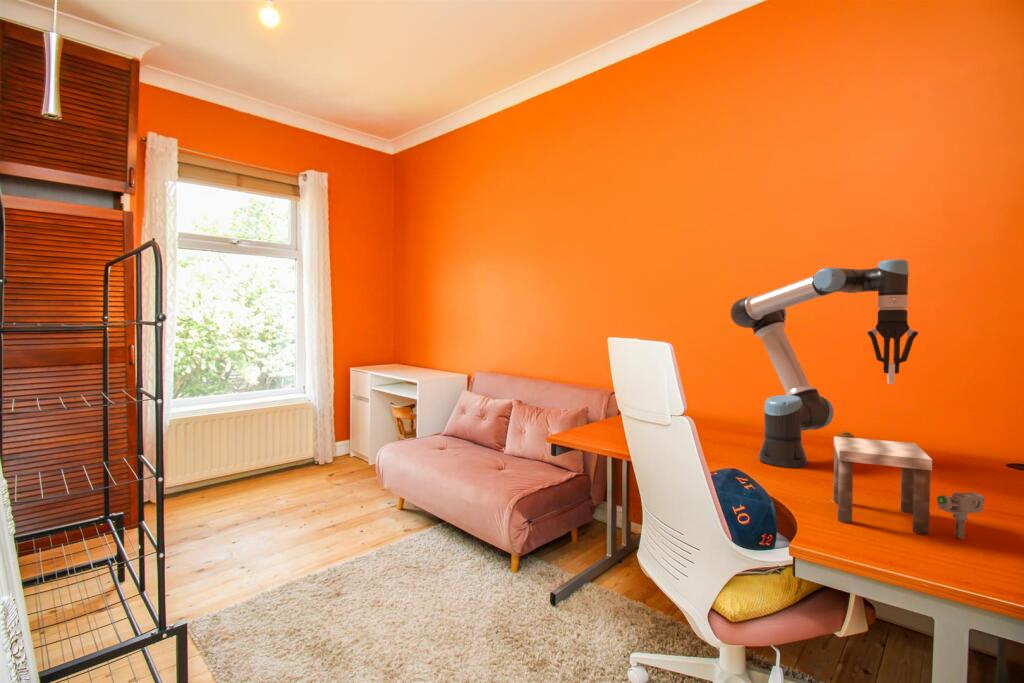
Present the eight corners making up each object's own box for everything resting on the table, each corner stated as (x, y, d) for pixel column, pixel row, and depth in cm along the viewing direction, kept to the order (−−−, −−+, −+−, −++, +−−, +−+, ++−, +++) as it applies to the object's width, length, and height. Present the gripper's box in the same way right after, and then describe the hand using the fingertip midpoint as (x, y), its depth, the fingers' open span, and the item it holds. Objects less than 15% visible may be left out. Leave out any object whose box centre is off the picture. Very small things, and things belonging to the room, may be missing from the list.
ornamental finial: (836, 449, 197) (859, 452, 192) (832, 452, 192) (855, 456, 187) (836, 429, 197) (859, 431, 192) (832, 432, 192) (855, 435, 186)
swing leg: (877, 504, 136) (878, 451, 135) (879, 508, 133) (880, 453, 133) (832, 498, 141) (833, 447, 140) (833, 501, 138) (834, 449, 138)
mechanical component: (933, 535, 117) (934, 493, 116) (973, 534, 118) (974, 492, 117) (945, 541, 114) (946, 497, 113) (986, 539, 115) (987, 496, 114)
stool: (838, 522, 125) (839, 450, 125) (832, 499, 141) (833, 436, 140) (930, 536, 116) (932, 459, 116) (913, 511, 132) (915, 443, 132)
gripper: (868, 309, 158) (867, 384, 159) (921, 308, 151) (919, 386, 152) (865, 309, 164) (864, 381, 165) (916, 309, 158) (914, 383, 159)
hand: (890, 383), depth 159 cm, fingers closed
